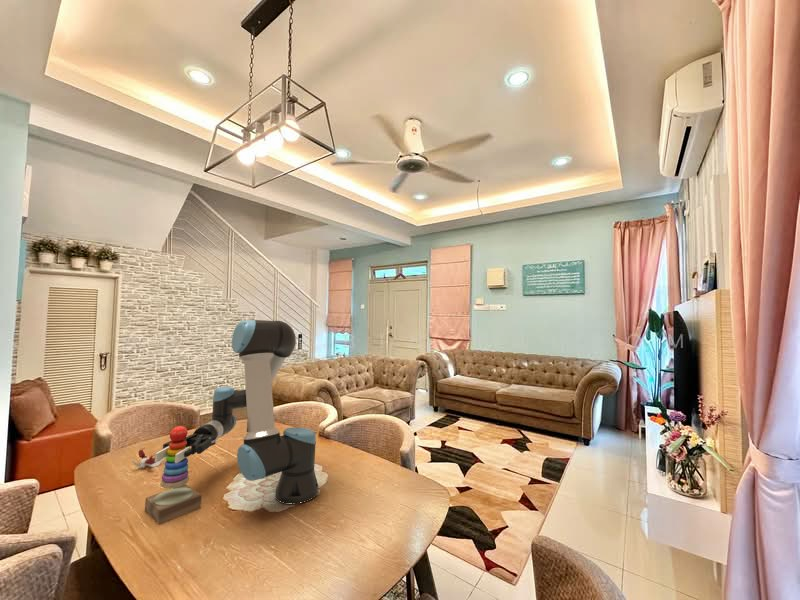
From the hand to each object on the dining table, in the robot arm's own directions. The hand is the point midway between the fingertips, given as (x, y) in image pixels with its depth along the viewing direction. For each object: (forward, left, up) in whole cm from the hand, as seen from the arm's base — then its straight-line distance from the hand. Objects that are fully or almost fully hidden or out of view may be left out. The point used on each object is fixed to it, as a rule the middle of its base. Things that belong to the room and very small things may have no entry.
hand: (166, 458), depth 109 cm
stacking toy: (+3, -4, -11) cm, 12 cm away
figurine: (+45, -11, -19) cm, 50 cm away
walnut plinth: (+3, -4, -18) cm, 19 cm away
